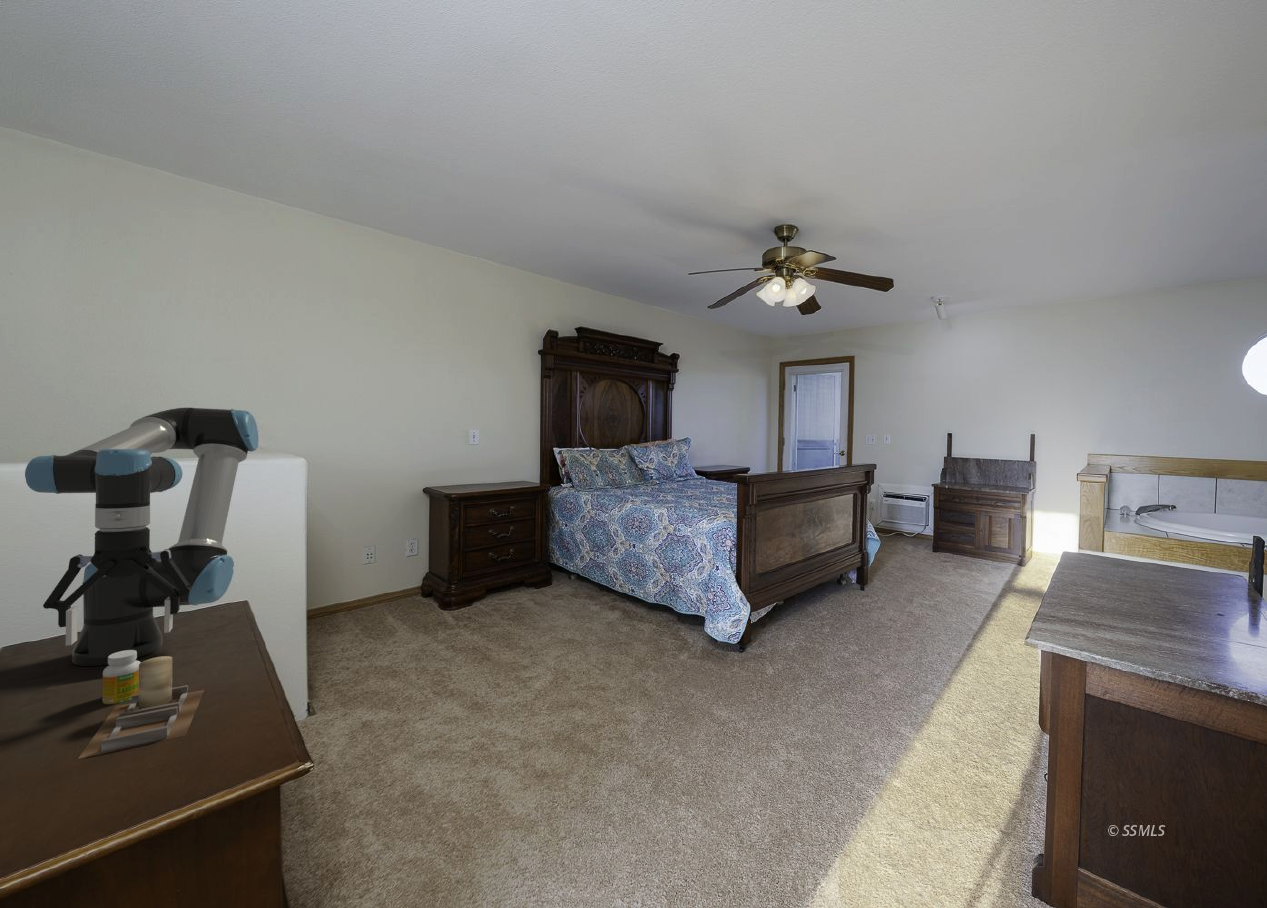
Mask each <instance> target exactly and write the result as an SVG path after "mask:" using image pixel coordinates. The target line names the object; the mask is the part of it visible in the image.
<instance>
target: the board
mask: <svg viewBox="0 0 1267 908" xmlns="http://www.w3.org/2000/svg"><path fill="white" fill-rule="evenodd" d="M204 692H205V689H201V690H195V691H190V692H189V685H188V684H185V685H180V686H174V687H172V703H170V704H165V705H160V706H154V707H149V708H144V709H139V694H134V695H132V699H131V702H130V703H125V704H124V703H123V704H120V705H115V706H114V707H113V709H112V711H110V713H109V714H108V716H107V718H105V720H104V722H103V723H101V726H100V727H99V728H98V730H97V732H96V733H94V736H93V737H92V738H91V740H90V741H89V743H87V745H86V747H85V748H84V749H83V751H82V752H81V754H80V755H79V757H78V758H77V760H80V759H86V758H89V757H94V756H99V755H103V754H107V753H112V752H117V751H122V750H125V749H130V748H131V749H132V748H137V747H139V746H144V745H149V744H153V743H158V742H163V741H168V740H172V739H178V738H181V737H182V738H183V737H185V736H186V735H187V733H188V730H189V728H190V725H191V723H192V721H193V719H194V716H195V713H196V711H197V710H198V707H199V705H200V702H201V700H202V697H203V695H204Z"/></svg>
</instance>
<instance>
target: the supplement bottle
mask: <svg viewBox="0 0 1267 908" xmlns="http://www.w3.org/2000/svg"><path fill="white" fill-rule="evenodd" d="M137 659H138V658H137V651H135V650H125V651H120V652H116V653H113V654H111V655H109V656H108V664H107V665H108V666H106V667H105V668H104V669H103V671H102V703H103V704H105V705H116V704H120V703H125V702H128V701H130V700H131V701H132V695H134V694H139V664H140V663H141V662H142V661H139V660H137Z"/></svg>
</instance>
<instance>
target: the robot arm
mask: <svg viewBox="0 0 1267 908" xmlns="http://www.w3.org/2000/svg"><path fill="white" fill-rule="evenodd" d="M258 446H259V429H258V426H257V421H256V419H255V416H254V415H253V414H252V413H251V412H250V411H247V410H241V409H234V408H231V409H226V408H225V409H222V408H221V409H220V408H205V407H204V408H203V407H202V408H201V407H199V408H198V407H177V408H171V409H170V408H169V409H166V410H161V411H159V412H153V413H152V414H149V415H145V416H142V417H141V418H138V419H136V420H134V421H133V422H132V423H131V424H130V426H129V427H128V428H126V429H124V430H121V431H119V432H117V433H115V434H112V435H110V436H108V437H106V438H103V439H101V440H99V441H96V442H94V443H92V444H90V445H87V446H85V447H82V448H79V449H78V450H75V451H73V452H71V453H68V454H65V455H56V454H52V455H39V456H36V457H34V458H32V459H31V460H30V461H29V462H28V464H27V465H26V467H25V470H24V477H25V478H24V479H25V483H26V485H27V486H28V487H29V489H31V491H34V492H37V493H43V494H44V493H45V494H46V493H48V494H49V493H50V494H56V495H59V494H94V493H95V505H94V528H95V529H98V530H96V532H95V533H94V553H93V555H83V554H80V553H79V554H76V555H74V556H72V557H71V558H69V562H68V569H67V570H66V572H65V573H64V574H63V576H62V577H61V579H59V582H58V583H57V584H56V586H55V587H54V588H53V590H52V591H51V593H50V594H49V595H48V597H47V599H46V600H45V602H44V603H43V604H42V608H44V609H45V610H49V609H52V610H56V611H57V615H58V616H57V617H58V618H57V619H58V620H57V625H58V627H59V628H65V646H72V645H73V644H75V645H74V647H73V649H72V653H71V663H72V664H74V665H76V666H81V667H96V666H104V665H108V656H109V655H111V654H113V653H116V652H120V651H125V650H135V651H137V659H138V658H141V657H143V656H146V655H147V656H148V654H151V653H154V652H155V651H157V650H159V649H160V648H162V646H163V645H164V643H163V633H164V634H167V633H170V632H171V630H173V623H174V622H173V621H174V620H173V618H174V617H173V616H174V615H177V614H178V613H179V611H180V608H181V607H182V606H198V605H202V604H203V605H204V604H212V603H215V602H216V601H217V602H218V601H219V600H220V599H222V597H223V596H224V595H225V594H226V592H227V591H228V588H230V584H231V582H232V580H233V576H234V566H235V564H234V559H233V558H232V556H230V555H228V550H227V548H226V547H225V546H223V540H224V535H225V530H226V523H227V521H228V520H227V519H228V516H229V510H230V505H231V501H232V495H233V491H234V487H235V481H236V477H237V472H238V468H239V464H240V463H242V462H243V461H245V460H246V459H247V458H248V452H254V451H256V450H257V448H259V447H258ZM169 450H191V451H192V450H193V451H192V452H193V455H195V456H196V457H197V458H198V460H197V464H196V468H195V473H194V476H193V480H192V485H191V488H190V493H189V497H188V499H187V500H188V501H187V504H186V509H185V513H184V517H183V521H182V525H181V530H180V533H179V537H178V541H177V542H176V543H175V544H173V545H171V546H170V547H168V548H165V549H164V550H161V551H160V550H159V551H154V552H152V550H151V549H150V548H151V546H150V545H151V544H150V543H151V542H150V541H151V540H150V539H151V535H150V534H151V533H150V532H151V529H150V528H149V527H147V526H148V525H150V524H151V494H152V493H162V492H166V491H167V490H170V489H172V488H174V487H176V486H177V485H179V484H180V482H181V480H182V477H183V469H182V467H181V466H180V464H179V463H178V462H177V461H175V460H174V459H173V458H170V457H165V456H151V455H152V454H158V453H160V454H161V453H163V452H166V451H169ZM84 567H85V568H84ZM83 568H84V571H83V579H82V583H81V585H79V586H78V588H76V589H75V590H74V591H73V592H72V593H71V594H69V596H67V598H65V599H64V600H61V599H62V597H63V596H64V594H65V593H66V591H67V590H68V588H70V586H71V584H72V583H73V581H74V580H75V579H76V577H77V576H78V574H79V573H80V571H81V569H83ZM82 596H83V597H82ZM81 597H82V598H83V599H82V601H83V604H82V606H83V608H82V609H83V627H82V628H81V631H80V634H79V636H78V616H79V615H78V611H79V609H78V608H79V607H78V605H76V606H73V604H75V603H76V602H77V601H78V599H80V598H81ZM154 608H164V614H163V615H164V620H163V621H164V626H163V628H164V629H163V631H164V632H163V633H162V631H161V629H160V627H159V625H158V622H157V620H156V618H155V616H154Z"/></svg>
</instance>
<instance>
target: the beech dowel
mask: <svg viewBox="0 0 1267 908" xmlns="http://www.w3.org/2000/svg"><path fill="white" fill-rule="evenodd" d="M140 662H141V663H140V664H139V709H144V708H149V707H154V706H160V705H165V704H170V703H172V688H173V657H172V656H169V655H167V656H166V655H165V656H162V655H161V656H157V657H152V658H148V659H146V660H143V661H140Z"/></svg>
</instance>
